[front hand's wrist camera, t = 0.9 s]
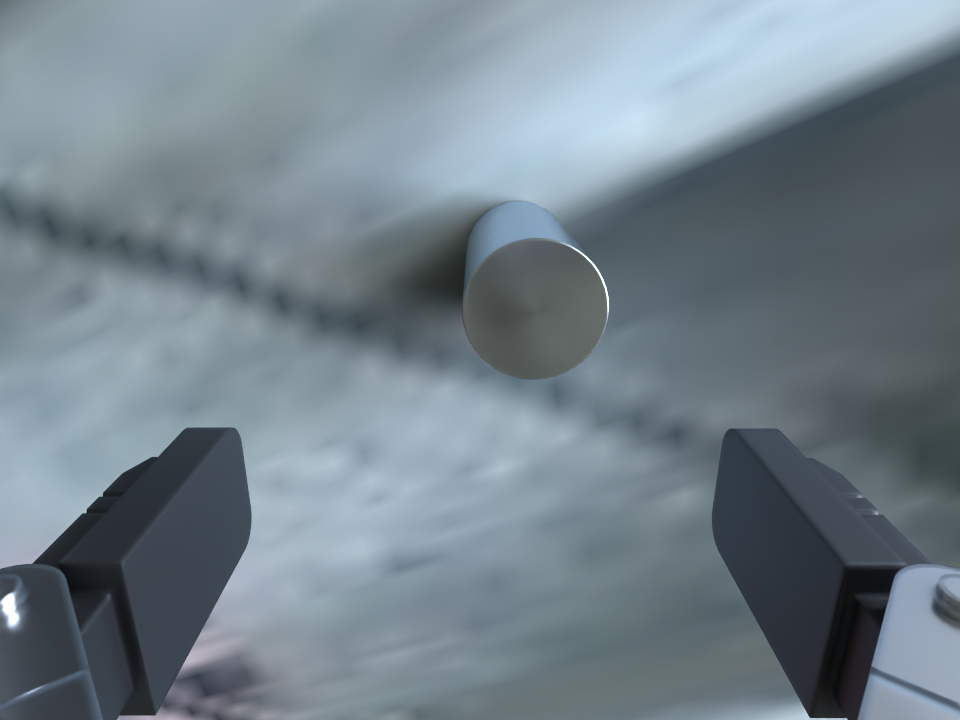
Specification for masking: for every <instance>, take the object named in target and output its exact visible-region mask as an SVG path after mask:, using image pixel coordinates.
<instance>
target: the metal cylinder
mask: <svg viewBox="0 0 960 720" xmlns="http://www.w3.org/2000/svg"><path fill="white" fill-rule="evenodd" d="M608 314H609V300H608V293H607V289H606V286H605V283H604V280H603V278H602V276H601V274H600V272H599V270H598V269H597V268H596V266H595V265H594V264H593V262H592V261H591V260H590V259H589V257H588V256H587V255H586V254H585V253H584V251H583V250H582V249H581V248H580V246H579V245H578V244H577V243H576V242H575V240H574V239H573V238H572V237H571V235H570V234H569V233H568V232H567V231H566V229H565V228H564V227H563V226H562V225H561V223H560V222H559V221H558V220H557V218H556V217H555V216H554V215H553V214H552V213H550V212H549V211H548V210H546V209H545V208H543V207H541V206H539V205H537V204H534V203H531V202H525V201H512V202H506V203H503V204H500V205H497V206H495V207H493V208H492V209H490V210H489V211H487V212H486V213H485V214H484V215H483V216H482V217H481V218H480V219H479V220H478V221H477V222H476V224H475V225H474V227H473V229H472V231H471V233H470V236H469V239H468V243H467V252H466V265H465V278H464V290H463V303H462V318H463V324H464V328H465V332H466V335H467V337H468V339H469V341H470V343H471V345H472V347H473V348H474V350H475V351H476V352H477V354H478V355H479V356H480V357H481V358H482V359H483V360H484V361H485V362H486V363H487V364H489V365H490V366H491V367H493V368H494V369H496V370H498V371H500V372H502V373H504V374H506V375H509V376H512V377H516V378H520V379H529V380H536V379H546V378H551V377H555V376H558V375H561V374H563V373H566V372H568V371H569V370H571V369H573V368H575V367H576V366H578V365H579V364H580V363H582V362H583V361H584V360H585V359H586V358H587V357H588V356H589V355H590V354H591V353H592V352H593V350H594V349H595V348H596V346H597V345H598V343H599V342H600V340H601V338H602V336H603V334H604V331H605V328H606V325H607V320H608Z"/></svg>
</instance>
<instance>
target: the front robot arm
mask: <svg viewBox="0 0 960 720" xmlns="http://www.w3.org/2000/svg"><path fill="white" fill-rule="evenodd" d="M712 527H713V535H714V539H715V543H716V546H717V549H718V551H719V553H720V554H721V556H722V558H723V560H724V562H725V564H726V565H727V567H728V569H729V571H730V573H731V575H732V576H733V578H734V580H735V582H736V584H737V586H738V587H739V589H740V591H741V593H742V595H743V597H744V598H745V600H746V602H747V604H748V606H749V607H750V609H751V611H752V613H753V615H754V617H755V618H756V620H757V622H758V624H759V626H760V628H761V629H762V631H763V633H764V635H765V637H766V639H767V640H768V642H769V644H770V646H771V648H772V649H773V651H774V653H775V655H776V657H777V659H778V660H779V662H780V664H781V666H782V668H783V670H784V671H785V673H786V675H787V677H788V679H789V681H790V682H791V684H792V686H793V688H794V690H795V691H796V693H797V695H798V697H799V699H800V701H801V702H802V704H803V706H804V708H805V710H806V712H807V713H808V715H809V717H810V718H847V719H848V720H960V569H958V568H954V567H949V566H944V565H936V564H931V563H930V562H929V561H928V560H927V559H926V558H925V557H924V556H923V555H922V554H921V553H920V552H919V551H918V550H917V549H916V548H915V547H914V546H913V545H912V544H911V543H910V542H909V541H908V540H907V539H906V538H905V537H904V536H903V535H902V534H901V533H900V532H899V531H898V530H897V529H896V528H895V527H894V526H893V525H892V524H891V523H890V522H889V521H888V520H887V519H886V518H885V517H884V516H883V515H879V514H878V510H877V509H876V508H875V507H874V506H873V505H872V504H871V503H870V502H869V501H868V500H867V499H866V498H862V494H861V493H860V492H859V491H858V490H857V489H856V488H855V487H854V486H853V485H852V484H851V483H850V482H849V481H848V480H847V479H846V478H845V477H844V476H843V475H842V474H840V473H838V472H836V471H834V470H833V469H831V468H829V467H827V466H825V465H824V464H822V463H820V462H818V461H817V460H815V459H813V458H806V457H805V456H804V455H803V454H802V453H801V452H800V451H799V450H798V449H797V448H796V447H795V446H794V445H793V444H792V443H791V442H790V441H789V439H788V438H787V437H786V436H785V435H784V434H783V433H782V432H781V431H780V430H778V429H729V430H728V431H727V432H726V433H725V435H724V438H723V442H722V447H721V454H720V461H719V468H718V475H717V482H716V489H715V496H714V503H713V511H712ZM250 530H251V505H250V498H249V491H248V484H247V477H246V470H245V463H244V456H243V449H242V442H241V438H240V435H239V433H238V431H237V430H236V429H235V428H186V429H184V430H183V431H182V432H181V433H180V434H179V435H178V436H177V438H176V439H175V440H174V441H173V442H172V443H171V444H170V445H169V446H168V447H167V448H166V449H165V450H164V451H163V452H162V453H161V455H160V456H159V457H151V458H149V459H147V460H146V461H144V462H142V463H140V464H139V465H137V466H135V467H133V468H131V469H130V470H128V471H126V472H124V473H123V474H121V475H120V476H119V477H118V478H117V479H116V480H115V481H114V482H113V483H112V484H111V485H110V486H109V487H108V488H107V489H106V490H105V491H104V492H103V497H99V498H98V499H97V500H96V501H95V502H94V503H93V504H92V505H91V506H90V507H89V508H88V509H87V513H83V514H82V515H81V516H80V517H79V518H78V519H77V520H76V521H75V522H74V523H73V524H72V525H71V526H70V527H69V528H68V529H67V530H66V531H65V532H64V533H63V534H62V535H61V536H60V537H59V538H58V539H57V540H56V541H55V542H54V543H53V544H52V545H51V546H50V547H49V548H48V549H47V550H46V551H45V552H44V553H43V554H42V555H41V556H40V557H39V558H38V559H37V560H36V561H35V562H34V563H33V564H24V565H16V566H11V567H6V568H2V569H0V720H117V718H118V716H119V715H156V713H157V712H158V710H159V708H160V706H161V704H162V702H163V700H164V699H165V697H166V695H167V693H168V691H169V689H170V687H171V686H172V684H173V682H174V680H175V678H176V676H177V675H178V673H179V671H180V669H181V667H182V665H183V663H184V662H185V660H186V658H187V656H188V654H189V652H190V650H191V649H192V647H193V645H194V643H195V641H196V639H197V638H198V636H199V634H200V632H201V630H202V628H203V626H204V625H205V623H206V621H207V619H208V617H209V615H210V614H211V612H212V610H213V608H214V606H215V604H216V602H217V601H218V599H219V597H220V595H221V593H222V591H223V589H224V588H225V586H226V584H227V582H228V580H229V578H230V577H231V575H232V573H233V571H234V569H235V567H236V565H237V564H238V562H239V560H240V558H241V556H242V554H243V552H244V551H245V549H246V546H247V544H248V540H249V536H250Z"/></svg>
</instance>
